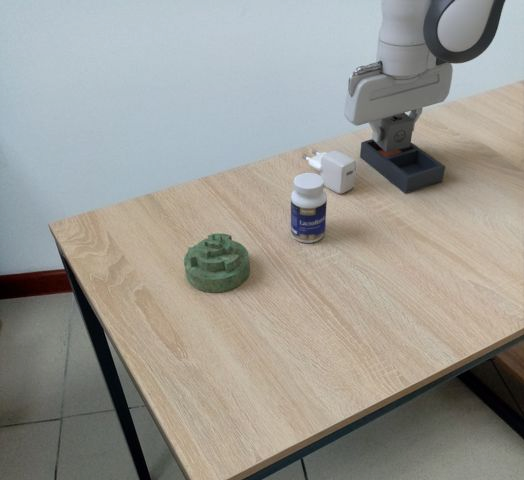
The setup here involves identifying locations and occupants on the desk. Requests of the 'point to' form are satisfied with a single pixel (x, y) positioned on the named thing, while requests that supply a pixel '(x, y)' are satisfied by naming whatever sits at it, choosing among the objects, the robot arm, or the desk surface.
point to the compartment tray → (403, 166)
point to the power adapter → (334, 169)
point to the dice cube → (396, 132)
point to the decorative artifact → (217, 264)
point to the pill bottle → (308, 208)
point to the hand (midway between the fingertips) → (392, 135)
